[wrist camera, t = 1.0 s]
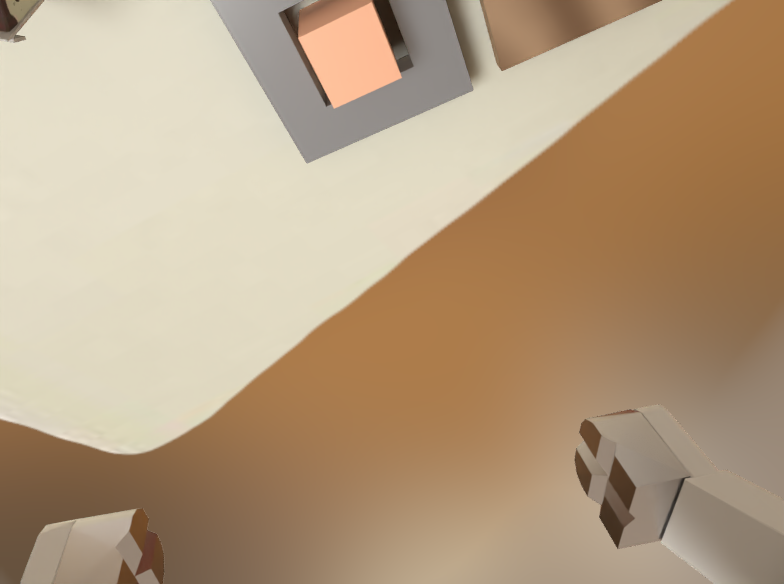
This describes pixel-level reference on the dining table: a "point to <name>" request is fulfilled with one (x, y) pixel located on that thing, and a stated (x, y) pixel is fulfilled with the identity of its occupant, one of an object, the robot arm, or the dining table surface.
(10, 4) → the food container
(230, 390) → the dining table surface
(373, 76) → the terracotta block
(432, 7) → the pocket plate
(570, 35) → the walnut board
